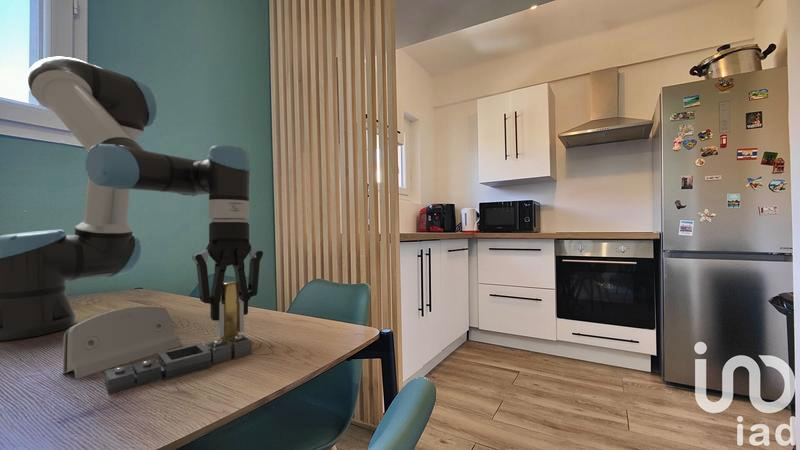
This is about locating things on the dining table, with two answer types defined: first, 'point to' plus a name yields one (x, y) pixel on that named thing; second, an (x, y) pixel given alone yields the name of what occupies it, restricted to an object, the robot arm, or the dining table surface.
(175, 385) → the dining table surface
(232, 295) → the link pin
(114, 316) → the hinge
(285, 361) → the dining table surface
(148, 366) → the chain end
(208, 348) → the chain end
